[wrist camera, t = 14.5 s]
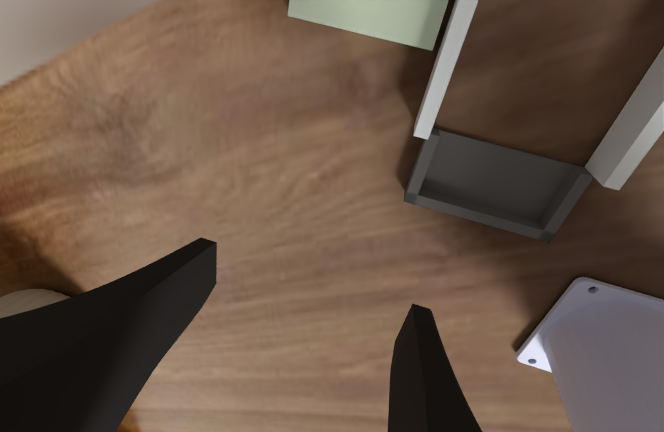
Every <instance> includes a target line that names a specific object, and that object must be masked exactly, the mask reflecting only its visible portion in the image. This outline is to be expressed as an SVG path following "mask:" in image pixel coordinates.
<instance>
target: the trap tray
mask: <svg viewBox="0 0 664 432" xmlns="http://www.w3.org/2000/svg"><path fill="white" fill-rule="evenodd" d="M593 178H594V177H593V176H592V175H591V174H590V173H589V172H588V171H587V170H586V169H585V168H584V167H581V166H577V165H573V164H570V163H566V162H562V161H558V160H554V159H551V158H547V157H543V156H539V155H535V154H531V153H528V152H524V151H520V150H516V149H512V148H509V147H505V146H501V145H497V144H493V143H490V142H486V141H482V140H478V139H474V138H471V137H467V136H463V135H459V134H455V133H451V132H448V131H444V130H440V129H436V128H432V130H431V133H430V136H429V138H428V140H427V139H423V142H422V144H421V147H420V150H419V153H418V156H417V159H416V161H415V164H414V167H413V170H412V173H411V175H410V178H409V181H408V184H407V187H406V190H405V194H404V202H408V203H411V204H415V205H418V206H422V207H425V208H429V209H432V210H436V211H439V212H443V213H446V214H450V215H453V216H457V217H461V218H464V219H468V220H471V221H475V222H478V223H482V224H485V225H489V226H492V227H496V228H499V229H503V230H506V231H510V232H513V233H517V234H520V235H524V236H527V237H531V238H534V239H538V240H541V241H545V242H548V243H549V242H550V241H551V239H552V238H553V236H554V235H555V233H556V232H557V230H558V229H559V227H560V226H561V225H562V223H563V222H564V220H565V219H566V217H567V216H568V214H569V213H570V211H571V210H572V208H573V207H574V206H575V204H576V203H577V201H578V200H579V198H580V197H581V195H582V194H583V192H584V191H585V189H586V188H587V187H588V185H589V184H590V182H591V181H592V179H593Z"/></svg>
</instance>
